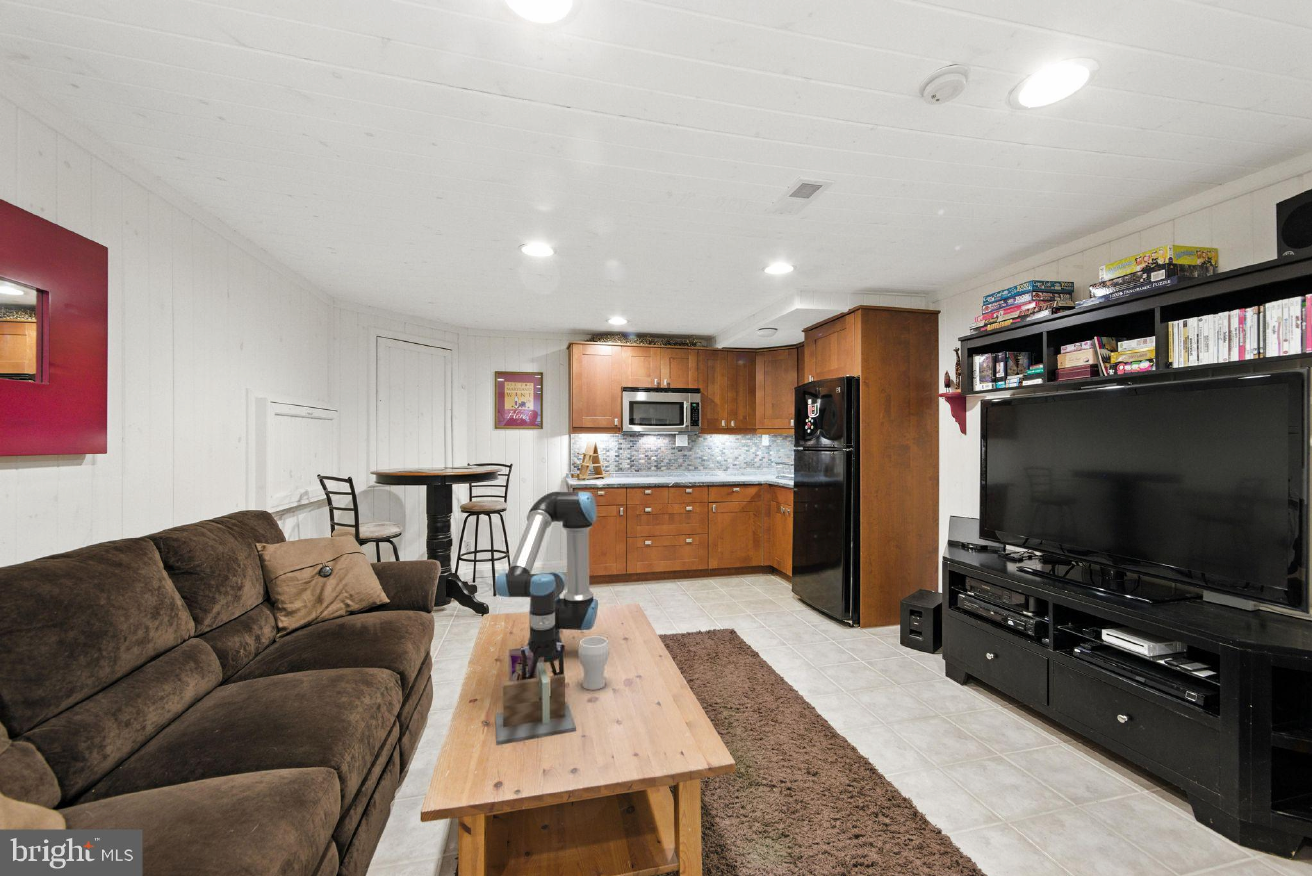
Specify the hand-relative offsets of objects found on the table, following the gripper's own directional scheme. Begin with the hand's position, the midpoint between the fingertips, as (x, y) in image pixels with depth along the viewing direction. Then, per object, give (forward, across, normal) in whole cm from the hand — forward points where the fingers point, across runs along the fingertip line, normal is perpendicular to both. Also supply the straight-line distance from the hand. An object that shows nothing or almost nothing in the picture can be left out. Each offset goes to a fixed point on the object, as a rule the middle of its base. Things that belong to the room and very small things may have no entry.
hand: (542, 701), depth 163 cm
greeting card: (+4, -3, +15) cm, 16 cm away
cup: (+4, +19, +14) cm, 24 cm away
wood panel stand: (+4, -3, -5) cm, 7 cm away
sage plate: (+3, 0, 0) cm, 3 cm away
